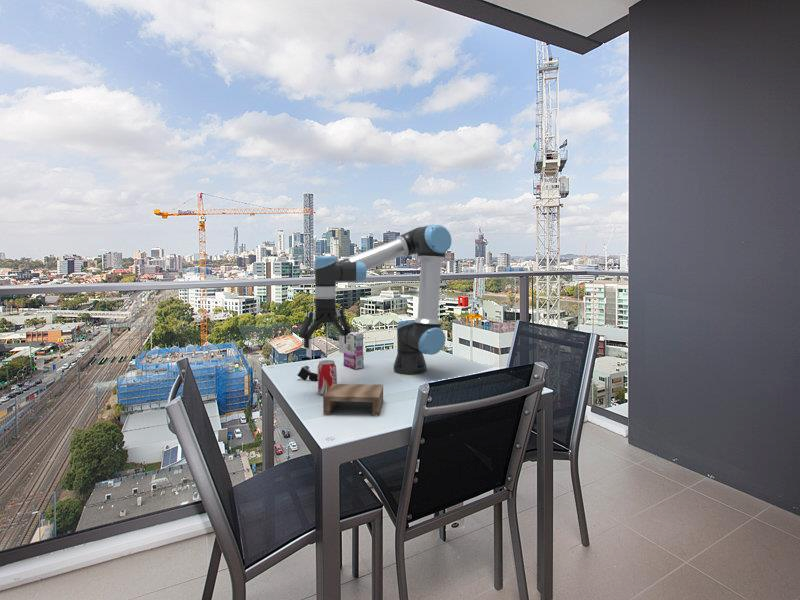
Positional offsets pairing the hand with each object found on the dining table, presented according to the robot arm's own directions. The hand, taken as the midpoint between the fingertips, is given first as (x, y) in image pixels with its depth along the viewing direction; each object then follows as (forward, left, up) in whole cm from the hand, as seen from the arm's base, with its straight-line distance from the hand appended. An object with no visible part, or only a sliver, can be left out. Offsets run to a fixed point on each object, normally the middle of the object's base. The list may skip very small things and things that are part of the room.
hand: (325, 354), depth 152 cm
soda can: (0, 0, -15) cm, 15 cm away
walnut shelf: (-13, +15, -15) cm, 25 cm away
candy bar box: (-3, -40, -15) cm, 43 cm away
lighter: (+12, -17, -15) cm, 26 cm away
